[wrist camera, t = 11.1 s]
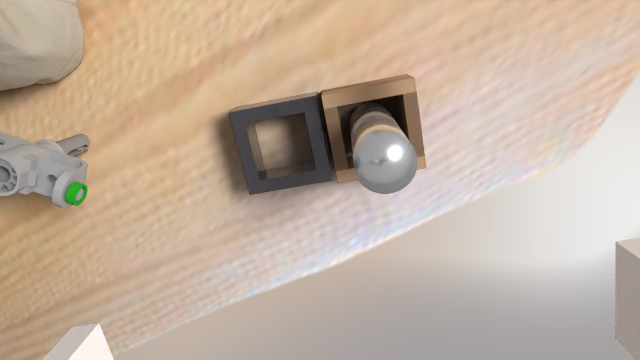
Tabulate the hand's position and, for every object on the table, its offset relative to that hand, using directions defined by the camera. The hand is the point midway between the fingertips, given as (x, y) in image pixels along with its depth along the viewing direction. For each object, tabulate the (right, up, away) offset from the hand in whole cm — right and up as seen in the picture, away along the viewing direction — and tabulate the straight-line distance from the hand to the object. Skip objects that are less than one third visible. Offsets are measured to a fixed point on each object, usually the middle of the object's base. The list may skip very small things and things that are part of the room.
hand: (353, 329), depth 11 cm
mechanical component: (-22, +7, +28) cm, 36 cm away
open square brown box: (+4, +9, +26) cm, 28 cm away
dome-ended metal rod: (+4, +9, +26) cm, 28 cm away
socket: (-4, +7, +27) cm, 28 cm away
